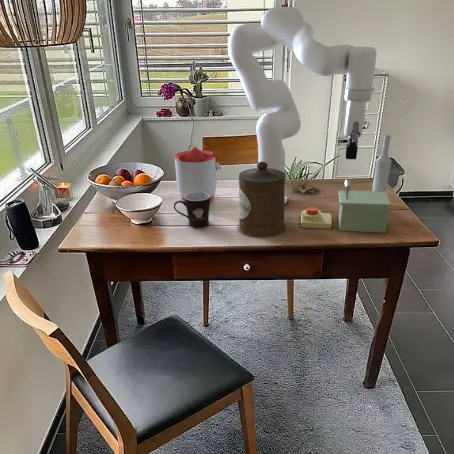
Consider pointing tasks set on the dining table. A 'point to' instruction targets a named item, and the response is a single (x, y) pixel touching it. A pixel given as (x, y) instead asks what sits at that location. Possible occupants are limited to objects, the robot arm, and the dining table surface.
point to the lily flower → (303, 187)
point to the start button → (312, 211)
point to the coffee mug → (196, 208)
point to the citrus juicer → (196, 172)
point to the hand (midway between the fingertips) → (350, 157)
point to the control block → (316, 220)
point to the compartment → (363, 218)
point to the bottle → (382, 167)
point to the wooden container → (261, 201)
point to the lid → (362, 197)
